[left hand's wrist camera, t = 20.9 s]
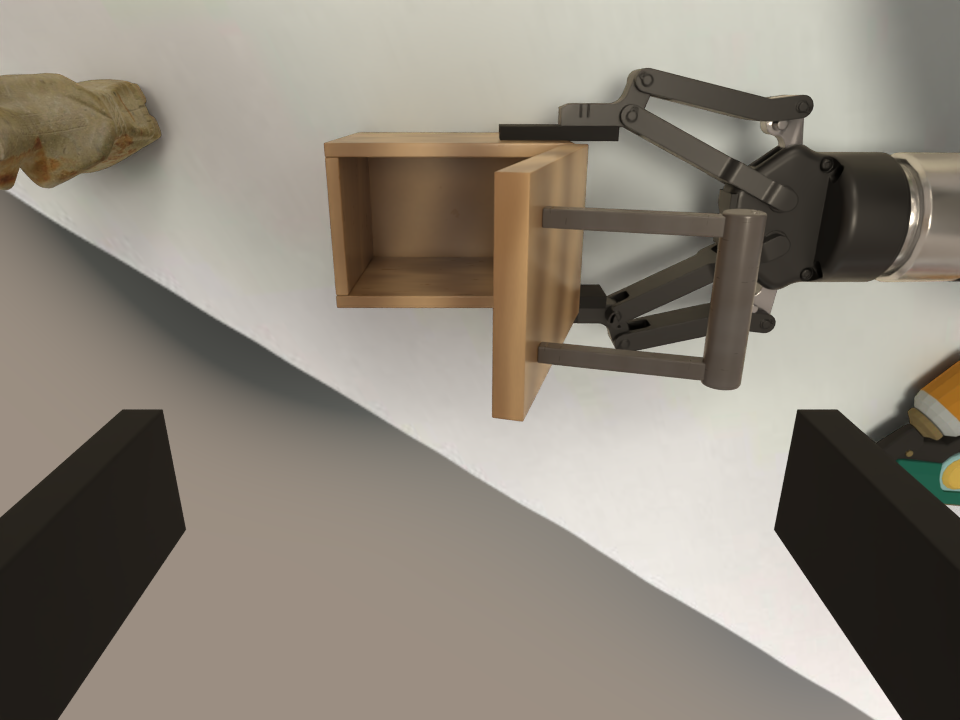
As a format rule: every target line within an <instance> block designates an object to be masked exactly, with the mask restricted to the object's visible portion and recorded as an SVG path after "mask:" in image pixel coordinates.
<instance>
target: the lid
mask: <svg viewBox="0 0 960 720" xmlns="http://www.w3.org/2000/svg"><path fill="white" fill-rule="evenodd" d="M587 162H588V144H564V145H562V146H559V147H557V148H554V149H552V150H549V151H547V152H544V153H542V154H539V155H536V156H534V157H531V158H529V159H526V160H524V161H521V162H519V163H516V164H514V165H511V166H509V167H506V168H503V169H501V170H498V171H496V172H495V173H494V258H493V370H492V417H493V418H499V419H507V420H515V421H523V420H524V419H525V417H526V415H527V413H528V411H529V409H530V407H531V405H532V403H533V401H534V399H535V397H536V395H537V393H538V391H539V389H540V387H541V385H542V383H543V381H544V379H545V377H546V375H547V373H548V371H549V369H550V367H551V366H552V364H553V365H562V366H572V367H581V368H590V369H600V370H609V371H618V372H628V373H637V374H646V375H656V376H665V377H674V378H684V379H693V380H701V382H702V383H703V384H704V385H705V386H707V387H710V388H713V389H718V390H734V389H737V388H738V387H739V386H740V384H741V379H742V372H743V366H744V360H745V353H746V347H747V341H748V334H749V328H750V322H751V315H752V309H753V303H754V296H755V290H756V284H757V277H758V271H759V265H760V258H761V252H762V246H763V240H764V233H765V227H766V221H767V213H765V212H763V211H758V210H751V209H728V210H725V211H723V213H722V214H715V213H693V212H670V211H648V210H626V209H604V208H585V196H586V179H587ZM583 230H592V231H610V232H629V233H647V234H666V235H685V236H703V237H719V242H718V250H717V257H716V265H715V272H714V280H713V287H712V295H711V302H710V310H709V317H708V325H707V332H706V340H705V347H704V355H703V357H693V356H683V355H673V354H663V353H652V352H642V351H632V350H622V349H612V348H602V347H591V346H581V345H571V344H563V342H564V340H565V338H566V336H567V334H568V332H569V330H570V328H571V326H572V324H573V322H574V320H575V318H576V316H577V315H578V313H579V299H580V282H581V265H582V247H583Z"/></svg>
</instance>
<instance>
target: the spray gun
mask: <svg viewBox="0 0 960 720" xmlns="http://www.w3.org/2000/svg"><path fill="white" fill-rule="evenodd" d="M914 407H915V408H911V409H910V410H908V415H909V419H910V423H909V424H907V425H904V426H902V427H901V428H899V429H898V430H896V431H895V432H893V433H892V434H890V435H888V436H887V437H885V438H884V439H882V440H881V441H879V442H878V443H876V444H877V445H878V446H879V447H880V448H881V449H883V450H884V451H885V452H886V453H887V454H888V455H889V456H890V457H892V458H893V459H894V460H895V461H896V462H897V463H898V464H900V465H901V466H902V467H903V468H904V469H905V470H906V471H907V472H909V473H910V474H911V475H912V476H913V477H914V478H915V479H917V480H918V481H919V482H920V483H921V484H922V485H923V486H924V487H926V488H927V489H928V490H929V491H930V492H931V493H932V494H934V495H935V496H936V497H937V498H938V499H939V500H940V501H941V502H943V503H944V504H945V505H956V506H960V360H959V361H958V362H956V363H955V364H954V365H952V366H951V367H950V368H948V369H947V370H946V371H944V372H943V373H942V374H941V375H939V376H938V377H937V378H935V379H934V380H933V381H931V382H930V383H929V384H927V385H926V386H925V387H923V388H922V389H921V390H920V391H919V392H918V393H917V395H916V396H915V399H914ZM943 435H945V436H943ZM924 437H929V438H924Z"/></svg>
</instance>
